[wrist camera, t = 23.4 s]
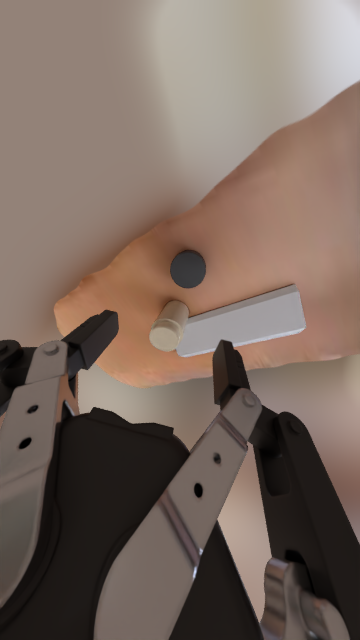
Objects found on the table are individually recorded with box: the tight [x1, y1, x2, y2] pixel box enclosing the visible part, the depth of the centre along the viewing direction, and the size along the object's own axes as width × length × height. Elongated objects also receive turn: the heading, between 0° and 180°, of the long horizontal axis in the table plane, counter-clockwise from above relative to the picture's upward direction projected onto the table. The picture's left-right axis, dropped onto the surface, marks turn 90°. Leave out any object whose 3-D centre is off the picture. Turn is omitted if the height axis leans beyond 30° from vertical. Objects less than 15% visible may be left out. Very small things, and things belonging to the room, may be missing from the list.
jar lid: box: [170, 250, 206, 288], centre depth 28 cm, size 7×7×2 cm
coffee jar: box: [149, 301, 189, 351], centre depth 30 cm, size 6×6×11 cm
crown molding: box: [175, 284, 306, 357], centre depth 34 cm, size 29×12×4 cm, turn 116°
